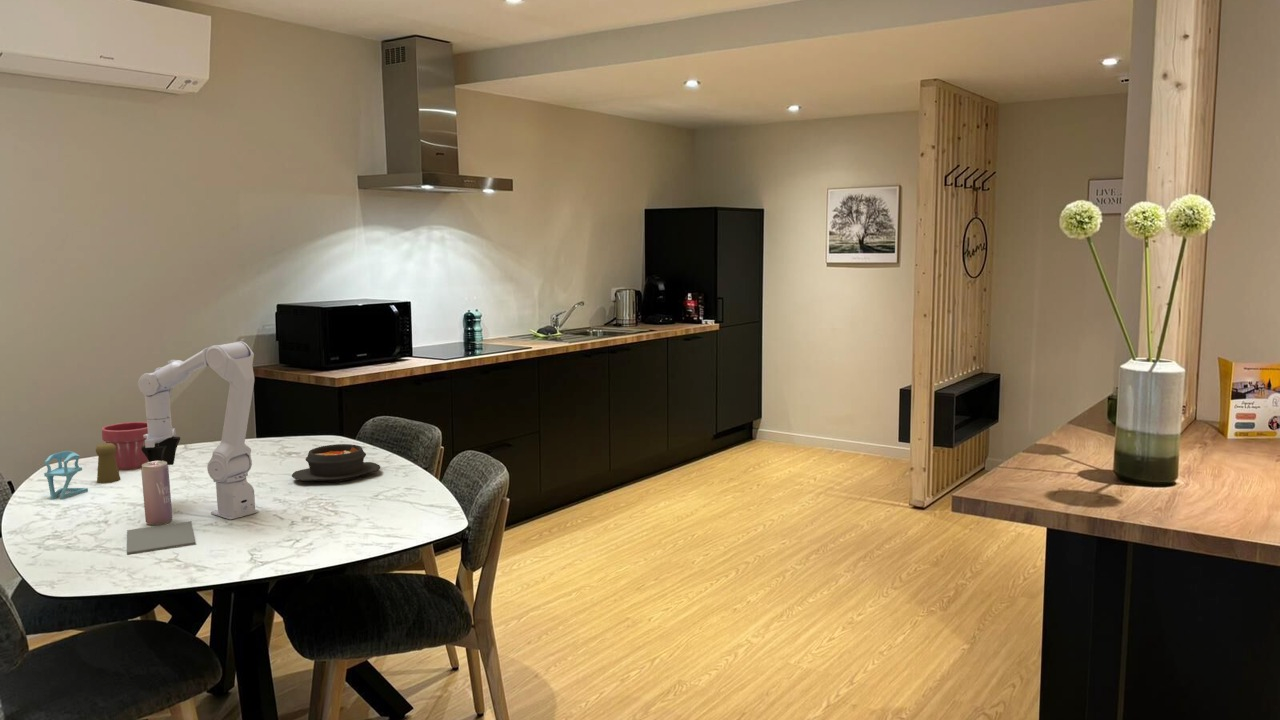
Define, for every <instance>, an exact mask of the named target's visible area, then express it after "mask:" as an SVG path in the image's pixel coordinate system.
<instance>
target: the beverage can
mask: <svg viewBox="0 0 1280 720" xmlns="http://www.w3.org/2000/svg"><path fill="white" fill-rule="evenodd" d="M140 473H141V481H142V482H141V484H142V494H143V495H142V496H143V504H144V505H143V506H144V517H145V522H146V524H147V525H149V526H160V524H162V525H166V524H169V523H171V522H172V520H173V508H172V506H173V505H172V495H171V485H170V484H171V483H170V471H169V465H167V462H166V461H153V462H149V461H148V462H147V463H144V464H142V467H141V468H140ZM165 523H166V524H165Z"/></svg>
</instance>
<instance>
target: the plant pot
mask: <svg viewBox="0 0 1280 720" xmlns="http://www.w3.org/2000/svg"><path fill="white" fill-rule="evenodd" d="M145 434H148V428H147V421H128V422H127V421H126V422H120V423H119V422H118V423H114V424H109V425H106V426H103V427H102V428H101V439H102V441H103V442H105V443H112V444H114V445H115V446H116V453H115V454H114V455H115V459H116V463H117V467H118V471H119V470H121V471H123V470H124V471H128V470H136V469H142V464H144V463H147V462H149V461H148V459H147V457H146V456H145V454H144V453H143V452H142V450H141V447H142V446H144V445H145V440H146V439H147V438H144V437H143V435H145Z"/></svg>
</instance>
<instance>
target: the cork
mask: <svg viewBox="0 0 1280 720" xmlns="http://www.w3.org/2000/svg"><path fill="white" fill-rule="evenodd" d="M95 453H96V455H97V456H98V459H97V460H98V461H97V463H98V464H97V475H96V478H97V479H96V483H97V484H112V483H116V482H119V481H121V476H120V471H119V469H118V467H117V463H116V459H115V455H114V454H115V453H116V446H115V445H114V444H112V443H106V442H105V443H101V444H98V445H97V446H96V447H95Z"/></svg>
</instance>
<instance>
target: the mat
mask: <svg viewBox="0 0 1280 720" xmlns="http://www.w3.org/2000/svg"><path fill="white" fill-rule="evenodd" d="M196 544H197V543H196V536H195V532H194V528H193V523H192V520H191V521H184V522H176V523H170V524H169V523H167V524H162V525H152V526H146V527H140V528H133V529H127V530H126V555H133V554H140V553H147V552H152V551H153V552H155V551H159V550H166V549H172V548H173V549H174V548H179V547H185V546H186V547H187V546H192V545H194V546H195V545H196Z"/></svg>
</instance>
